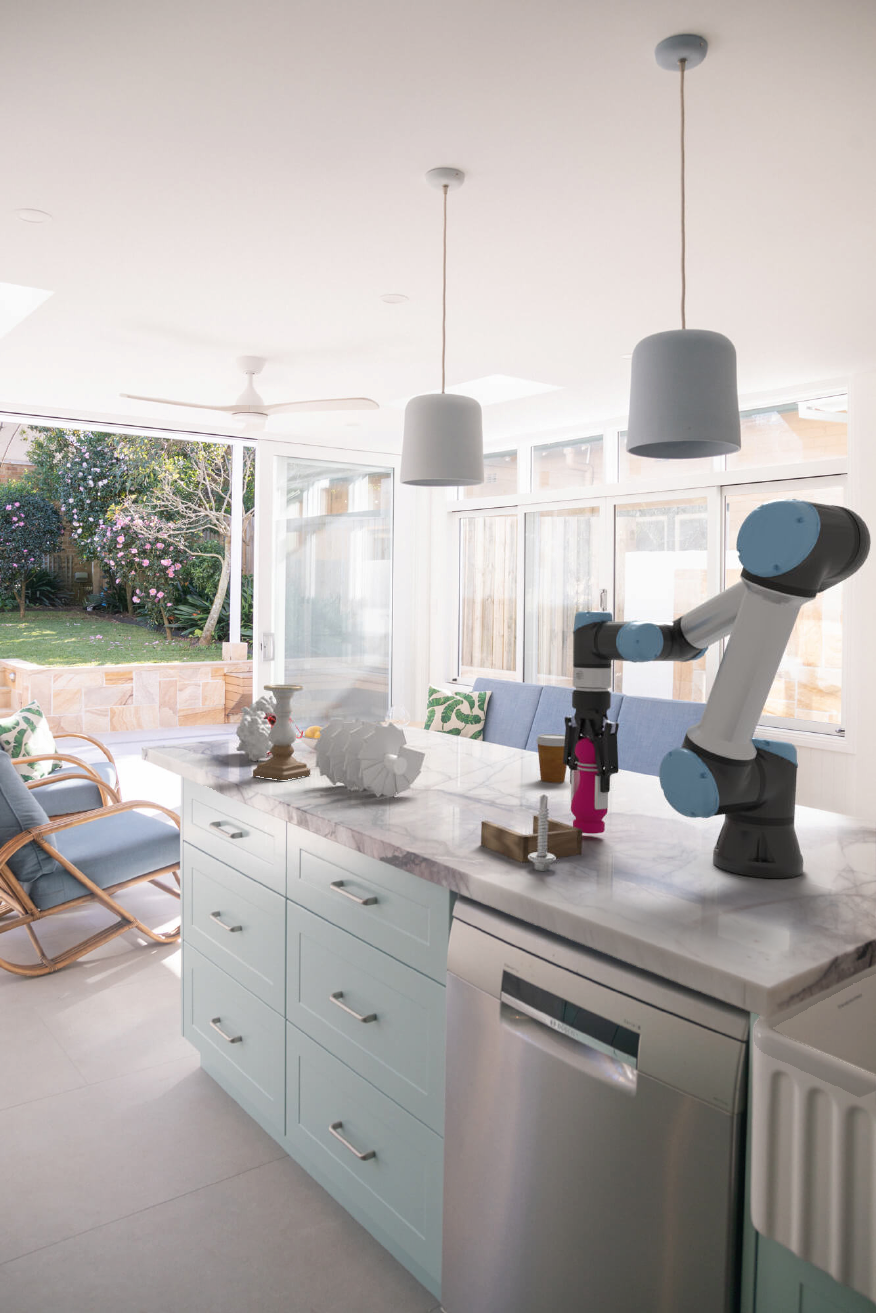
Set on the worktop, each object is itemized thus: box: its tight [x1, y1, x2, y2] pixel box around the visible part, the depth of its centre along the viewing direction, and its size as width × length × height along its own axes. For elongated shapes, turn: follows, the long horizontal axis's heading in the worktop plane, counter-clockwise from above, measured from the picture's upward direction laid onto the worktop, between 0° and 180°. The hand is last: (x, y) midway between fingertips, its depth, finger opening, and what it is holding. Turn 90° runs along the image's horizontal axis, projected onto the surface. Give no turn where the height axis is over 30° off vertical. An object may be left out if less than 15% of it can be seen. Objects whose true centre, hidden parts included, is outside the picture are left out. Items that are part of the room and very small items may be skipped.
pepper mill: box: [570, 735, 609, 835], centre depth 176 cm, size 7×7×20 cm
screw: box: [528, 794, 557, 872], centre depth 153 cm, size 13×5×5 cm
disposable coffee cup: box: [535, 733, 568, 784], centre depth 237 cm, size 10×10×12 cm
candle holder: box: [252, 684, 311, 780], centre depth 233 cm, size 11×11×24 cm
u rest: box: [480, 814, 583, 864], centre depth 166 cm, size 13×13×4 cm
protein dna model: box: [235, 695, 304, 762], centre depth 264 cm, size 20×18×25 cm
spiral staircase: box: [313, 714, 426, 798], centre depth 217 cm, size 18×18×25 cm
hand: (588, 805), depth 176 cm, fingers closed on pepper mill, 6 cm apart
